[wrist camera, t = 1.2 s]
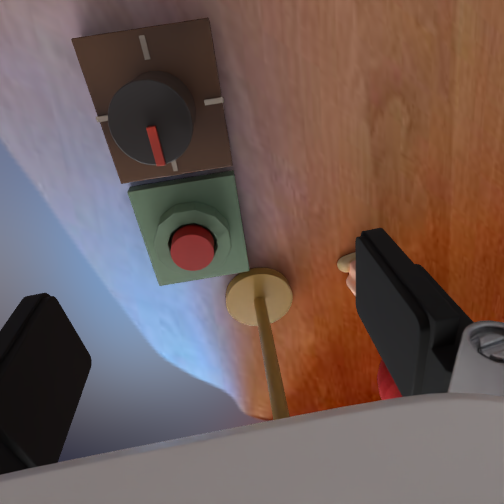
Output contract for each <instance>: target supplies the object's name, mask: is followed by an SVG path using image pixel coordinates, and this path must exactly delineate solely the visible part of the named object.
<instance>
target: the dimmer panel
mask: <svg viewBox="0 0 504 504" xmlns="http://www.w3.org/2000/svg"><path fill="white" fill-rule="evenodd" d="M72 43H73V46H74V49H75V52H76V54H77V57H78V60H79V63H80V66H81V69H82V72H83V75H84V78H85V80H86V83H87V86H88V89H89V92H90V95H91V98H92V101H93V104H94V106H95V109H96V112H97V115H98V117H96V119H97V122H100V124H101V127H102V130H103V132H104V135H105V138H106V141H107V144H108V147H109V150H110V153H111V156H112V158H113V161H114V164H115V167H116V170H117V173H118V176H119V179H120V181H121V184H123V183H129V182H136V181H142V180H148V179H154V178H161V177H167V176H173V175H179V174H186V173H192V172H198V171H204V170H211V169H217V168H223V167H229V166H233V164H232V157H231V151H230V145H229V139H228V133H227V126H226V120H225V114H224V108H223V103H224V99H223V97H222V96H221V89H220V83H219V77H218V71H217V65H216V59H215V52H214V46H213V40H212V34H211V28H210V22H209V18H204V19H197V20H190V21H184V22H177V23H171V24H164V25H158V26H151V27H144V28H138V29H131V30H125V31H118V32H111V33H105V34H98V35H92V36H85V37H79V38H72ZM149 71H162V72H166V73H169V74H171V75H173V76H175V77H177V78H178V79H179V80H181V81H182V82H183V83H184V84H185V85H186V87H187V88H188V89H189V91H190V93H191V95H192V97H193V100H194V103H195V122H194V128H193V135H192V139H191V142H190V144H189V146H188V148H187V150H186V151H185V152H184V153H183V154H182V155H181V156H180V157H179V158H178V159H176V160H174V161H173V162H170V163H167V164H166V165H163V166H157V165H148V164H144V163H140V162H138V161H136V160H134V159H132V158H130V157H129V156H128V155H126V154H125V153H124V152H123V151H122V150H121V149H120V148H119V147H118V145H117V144H116V142H115V141H114V139H113V137H112V135H111V132H110V129H109V125H108V108H109V105H110V102H111V100H112V98H113V96H114V95H115V93H116V92H117V91H118V90H119V89H120V88H121V87H122V86H124V85H125V84H127V83H128V82H130V81H131V80H133V79H134V78H136V77H137V76H139V75H141V74H143V73H145V72H149Z"/></svg>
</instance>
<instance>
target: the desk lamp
mask: <svg viewBox="0 0 504 504" xmlns="http://www.w3.org/2000/svg"><path fill="white" fill-rule="evenodd" d="M291 303H292V291H291V288H290V285H289V282H288V280H287V279H286V278H285V276H283V275H282V274H281V273H280V272H278V271H276V270H273V269H270V268H263V267H260V268H252V269H250V271H247V272H241V273H240V274H238V275H237V276H236V277H234V278H233V279H232V281H231V282H230V283H229V285H228V287H227V290H226V306H227V310H228V312H229V313H230V315H231V316H232V317H233V318H234V319H235V320H237V321H239V322H240V323H243V324H246V325H251V326H258V330H259V336H260V342H261V348H262V354H263V360H264V366H265V372H266V378H267V384H268V390H269V396H270V402H271V408H272V414H273V420H277V419H282V418H288V417H290V416H289V411H288V407H287V402H286V397H285V392H284V387H283V383H282V378H281V373H280V368H279V364H278V359H277V354H276V349H275V344H274V340H273V335H272V330H271V325H270V323H273V322H275V321H277V320H279V319H280V318H281V317H283V316H284V315H285V314H286V313H287V311H288V310H289V308H290V306H291Z"/></svg>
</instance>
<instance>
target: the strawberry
mask: <svg viewBox="0 0 504 504" xmlns="http://www.w3.org/2000/svg"><path fill="white" fill-rule="evenodd" d="M377 381H378V387H379V393H380V397H381V399H382V400H387V399H393V398H399V397H402V395H401V393H400V391H399V389H398V387H397V386H396V384H395V382H394V380H393V378H392V376H391V374H390V372H389V371H388V369H387V367H386V365H385V363H384V361H383V359H382V360H381V363H380V366H379V371H378V375H377Z"/></svg>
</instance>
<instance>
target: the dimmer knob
mask: <svg viewBox="0 0 504 504" xmlns="http://www.w3.org/2000/svg"><path fill="white" fill-rule="evenodd" d="M194 122H195V103H194V100H193V97H192V95H191V93H190V91H189V89H188V88H187V87H186V85H185V84H184V83H183V82H182V81H181V80H179V79H178V78H177V77H175V76H173V75H171V74H169V73H166V72H162V71H149V72H145V73H143V74H141V75H139V76H137V77H136V78H134V79H133V80H131V81H130V82H128V83H127V84H125V85H124V86H122V87H121V88H120V89H119V90H118V91H117V92H116V93H115V95H114V96H113V98H112V100H111V102H110V105H109V108H108V125H109V129H110V132H111V135H112V137H113V139H114V141H115V142H116V144H117V145H118V147H119V148H120V149H121V150H122V151H123V152H124V153H125V154H126V155H128V156H129V157H130V158H132V159H134V160H136V161H138V162H140V163H144V164H148V165H157V166H163V165H166V164H167V163H170V162H173V161H174V160H176V159H178V158H179V157H180V156H181V155H182V154H183V153H184V152H185V151H186V150H187V148H188V146H189V144H190V142H191V139H192V135H193V128H194Z"/></svg>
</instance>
